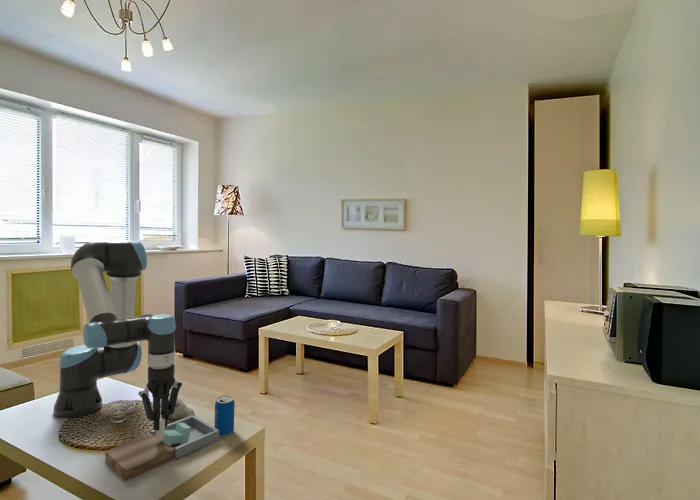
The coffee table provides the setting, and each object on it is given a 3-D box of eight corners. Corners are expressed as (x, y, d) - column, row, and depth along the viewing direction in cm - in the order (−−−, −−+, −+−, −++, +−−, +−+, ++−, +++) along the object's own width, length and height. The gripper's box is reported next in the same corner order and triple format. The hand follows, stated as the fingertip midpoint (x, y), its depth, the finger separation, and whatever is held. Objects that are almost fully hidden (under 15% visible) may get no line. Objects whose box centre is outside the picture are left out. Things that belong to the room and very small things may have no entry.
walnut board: (105, 461, 119) (105, 451, 119) (152, 442, 130) (152, 433, 130) (126, 480, 110) (126, 470, 110) (174, 458, 121) (174, 449, 121)
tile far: (176, 423, 131) (183, 422, 133) (172, 438, 130) (179, 438, 132) (184, 428, 128) (191, 427, 130) (180, 444, 127) (187, 443, 129)
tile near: (157, 438, 126) (160, 430, 127) (172, 437, 130) (174, 429, 131) (165, 444, 123) (168, 435, 124) (180, 443, 127) (182, 435, 128)
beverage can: (210, 432, 137) (211, 398, 137) (227, 426, 142) (228, 393, 142) (220, 439, 133) (221, 405, 132) (237, 433, 138) (238, 399, 137)
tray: (150, 441, 130) (150, 430, 130) (192, 424, 142) (193, 414, 142) (176, 460, 121) (176, 449, 121) (219, 440, 133) (219, 430, 132)
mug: (189, 425, 142) (175, 402, 141) (170, 431, 146) (156, 409, 144) (201, 411, 149) (188, 389, 148) (183, 417, 153) (169, 396, 151)
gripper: (145, 373, 116) (144, 451, 117) (187, 362, 126) (186, 434, 127) (134, 367, 120) (133, 442, 122) (175, 357, 131) (174, 426, 132)
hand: (160, 438), depth 125 cm, fingers closed
